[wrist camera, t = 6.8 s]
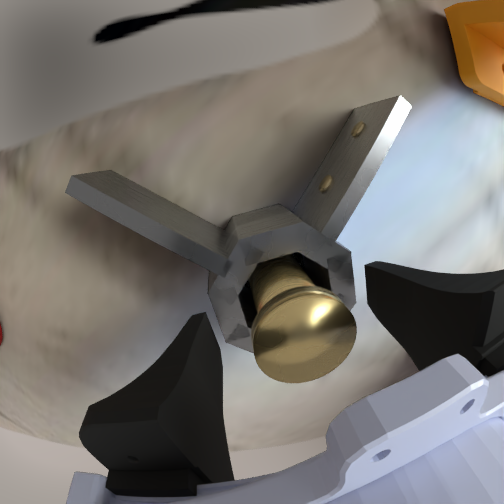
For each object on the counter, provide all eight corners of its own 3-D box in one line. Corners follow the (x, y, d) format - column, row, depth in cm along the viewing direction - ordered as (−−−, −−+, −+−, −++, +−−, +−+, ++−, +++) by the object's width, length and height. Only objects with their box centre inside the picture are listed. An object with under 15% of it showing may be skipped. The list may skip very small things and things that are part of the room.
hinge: (396, 143, 16) (447, 144, 11) (284, 324, 19) (303, 371, 14) (204, 20, 13) (201, -24, 8) (87, 225, 16) (47, 249, 11)
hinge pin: (314, 256, 18) (375, 326, 10) (275, 305, 19) (310, 393, 11) (263, 221, 17) (302, 277, 9) (224, 274, 18) (232, 361, 10)
